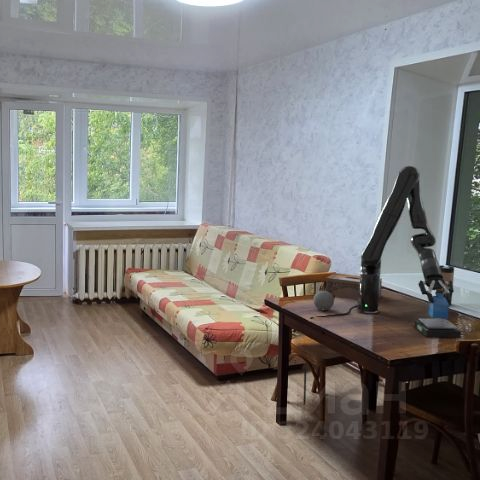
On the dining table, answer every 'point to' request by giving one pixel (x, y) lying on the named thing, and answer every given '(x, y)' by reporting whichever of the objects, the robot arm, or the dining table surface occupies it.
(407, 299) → the dining table surface
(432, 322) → the scale pan
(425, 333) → the scale
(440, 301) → the perfume bottle
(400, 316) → the dining table surface
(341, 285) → the tissue box cover
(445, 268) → the travel mug
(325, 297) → the decorative ball
